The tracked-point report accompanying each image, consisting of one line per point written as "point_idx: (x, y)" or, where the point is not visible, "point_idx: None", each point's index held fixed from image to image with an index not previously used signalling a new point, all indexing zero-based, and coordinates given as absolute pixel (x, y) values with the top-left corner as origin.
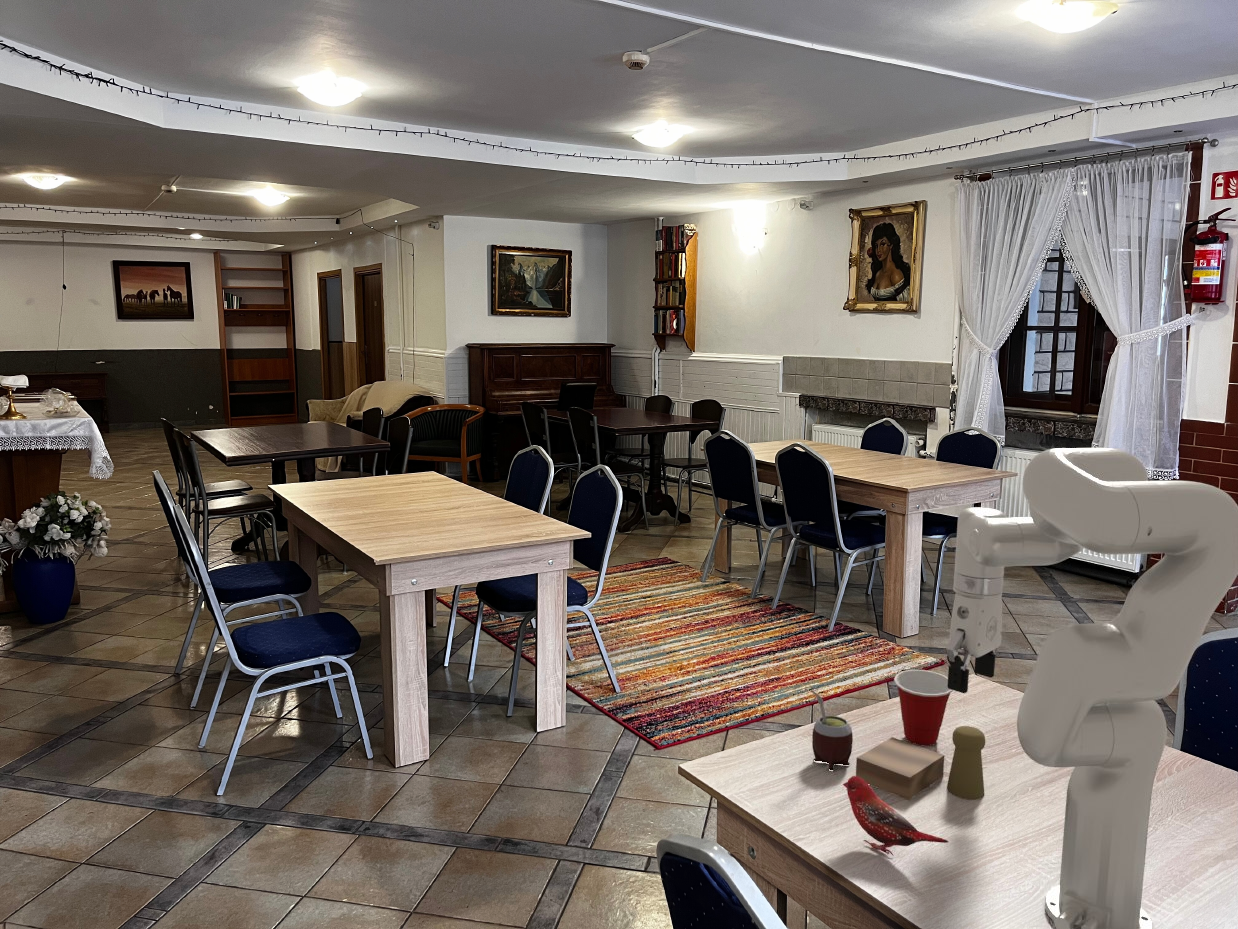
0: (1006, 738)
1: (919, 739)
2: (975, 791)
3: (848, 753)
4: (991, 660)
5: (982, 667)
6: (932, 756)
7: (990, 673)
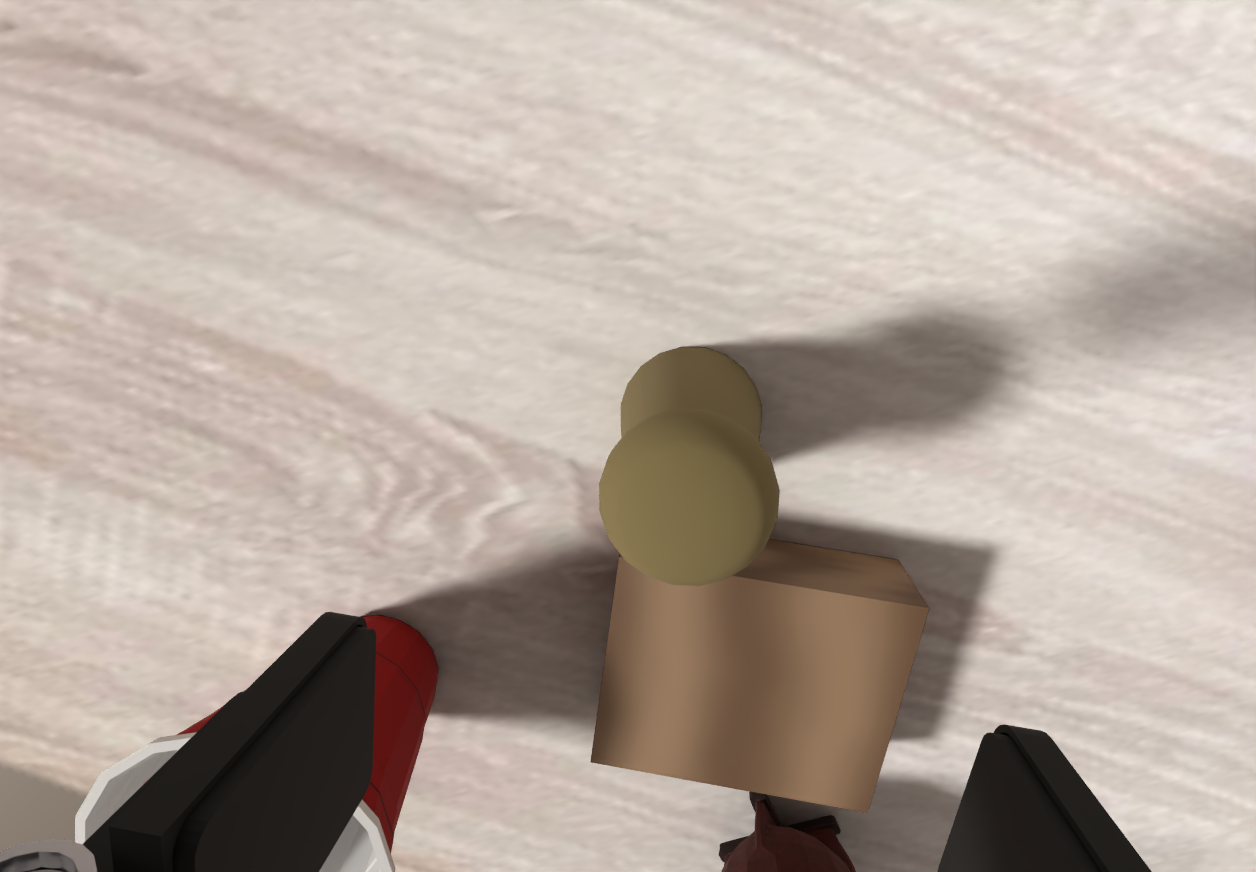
0: (129, 418)
1: (430, 670)
2: (738, 374)
3: (776, 833)
4: (243, 791)
5: (330, 781)
6: (665, 592)
7: (354, 660)
